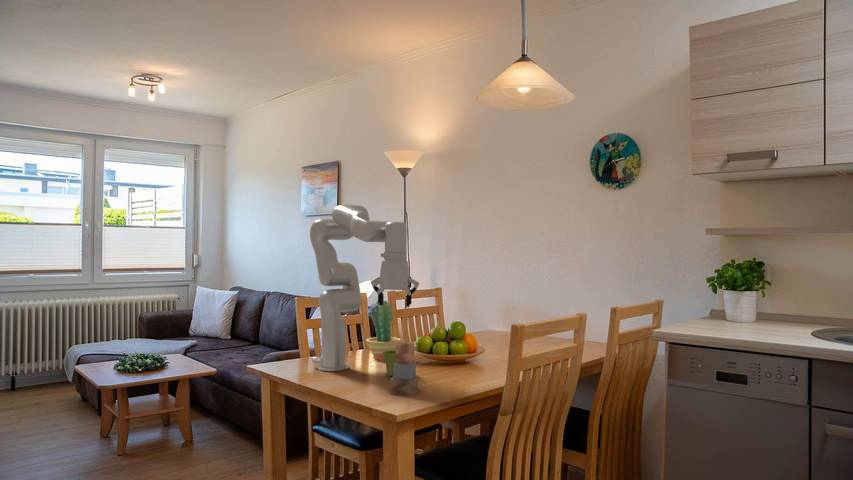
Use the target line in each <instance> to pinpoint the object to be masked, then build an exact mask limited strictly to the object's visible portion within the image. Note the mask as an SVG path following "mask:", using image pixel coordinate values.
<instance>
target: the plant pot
mask: <svg viewBox="0 0 853 480" xmlns="http://www.w3.org/2000/svg"><path fill="white" fill-rule="evenodd" d="M383 354H384V358H385V367H386V368H385V370H386V375H387V376H388V377H391V376H392V377H393V364H394V363H395V362H396V350H389V351H384V352H383Z"/></svg>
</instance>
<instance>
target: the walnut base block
mask: <svg viewBox="0 0 853 480" xmlns="http://www.w3.org/2000/svg"><path fill="white" fill-rule="evenodd" d="M418 391H419V374H416V376H415V377H414V378H412V379H411V380H403V379H393V376H392V377H391V378H390V379H389V395H401V396H402V395H403V396H405V395H406V396H414V395H415V394H416V393H417V392H418Z"/></svg>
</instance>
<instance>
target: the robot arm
mask: <svg viewBox="0 0 853 480" xmlns="http://www.w3.org/2000/svg"><path fill="white" fill-rule="evenodd" d="M309 238H310V239H309V240H310V244H311V246H312V249H313V251H314V255H315V261H316V268H317V272H318V273H317V274H318V279H319V282H320V284H321V285H322V286H324V287H341V286H342V288H331V289H326V290H324V291H322V292H321V294H320V295H319V296H318V305H319V306H318V307H319V310H320V319H321V320H320V323H321V324H320V325H321V344H320V345H321V351H320V352H321V356H319V357H316V356H313V357H312V358H311V362H312V363H313V364H318V365H317V370H319V371H323V372H340V371H346V370H348V369H349V368H350V364H349V363H347V362H346V322H345V319H344V317H343V316H342V314H341V313H347V312H356V311H357V310H359V309H360V307H361V305H362V294H361V293H362V292H361V287H360V281H359V277H358V272H357V269H356V267H355V266H354V265H353V264H352V263H350V262H339V259H338V254H337V253H338V252H337V250H336V248H335V247H334V245H332V243H331V242H330V241H333V240H334V241H335V240H336V241H346V240H347V241H348V240H350V239H352V238H355V239H358V240H360V241H362V242H366V243H384V252H382V253H380V258H383V259H384V260H381V266H380V272H379V273H380V274H379V277H377V278H375V279H372V280H371V281H370V284H371V286H372V288H373V290H374V291H375V292H376V294H377V301H378V303H379V306H381V305H383V301H385V300H384V296H385V294H384V293H383V292H385V290H393V291H394V290H395V291H403V290H404V292H405V293H406V296H405V306H406V308H408V307H410V306H411V305H412V298H413V297H412V296H413V294H414V293H416V291H417V289H418V287H419V285H420V282H419V281H417V280H415V279H413V278H412V277H411V275H410V267H409V266H410V265H409V261H408V260H407V224H406V223H405V222H404V221H403V222H402V221H388V220H387V221H385V220H384V221H382V220H370V217H369V212H368V209H366V208H365V207H364V206H363V205H359V204H358V205H356V204H339V205H337V206H336V207H334V208H333V210H332V212H331V218H320V219H316V220H314V222H313V223H311V227H310V230H309ZM378 282H379V283H378ZM377 283H378V284H379V287H378V285H377ZM410 284H413V287H412V288H410Z"/></svg>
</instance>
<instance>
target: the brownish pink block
mask: <svg viewBox="0 0 853 480" xmlns="http://www.w3.org/2000/svg"><path fill="white" fill-rule="evenodd" d="M414 361H415V343H409V342H400V343H399V344H397V345H396V363H399V364H411V363H412V362H414Z"/></svg>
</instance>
